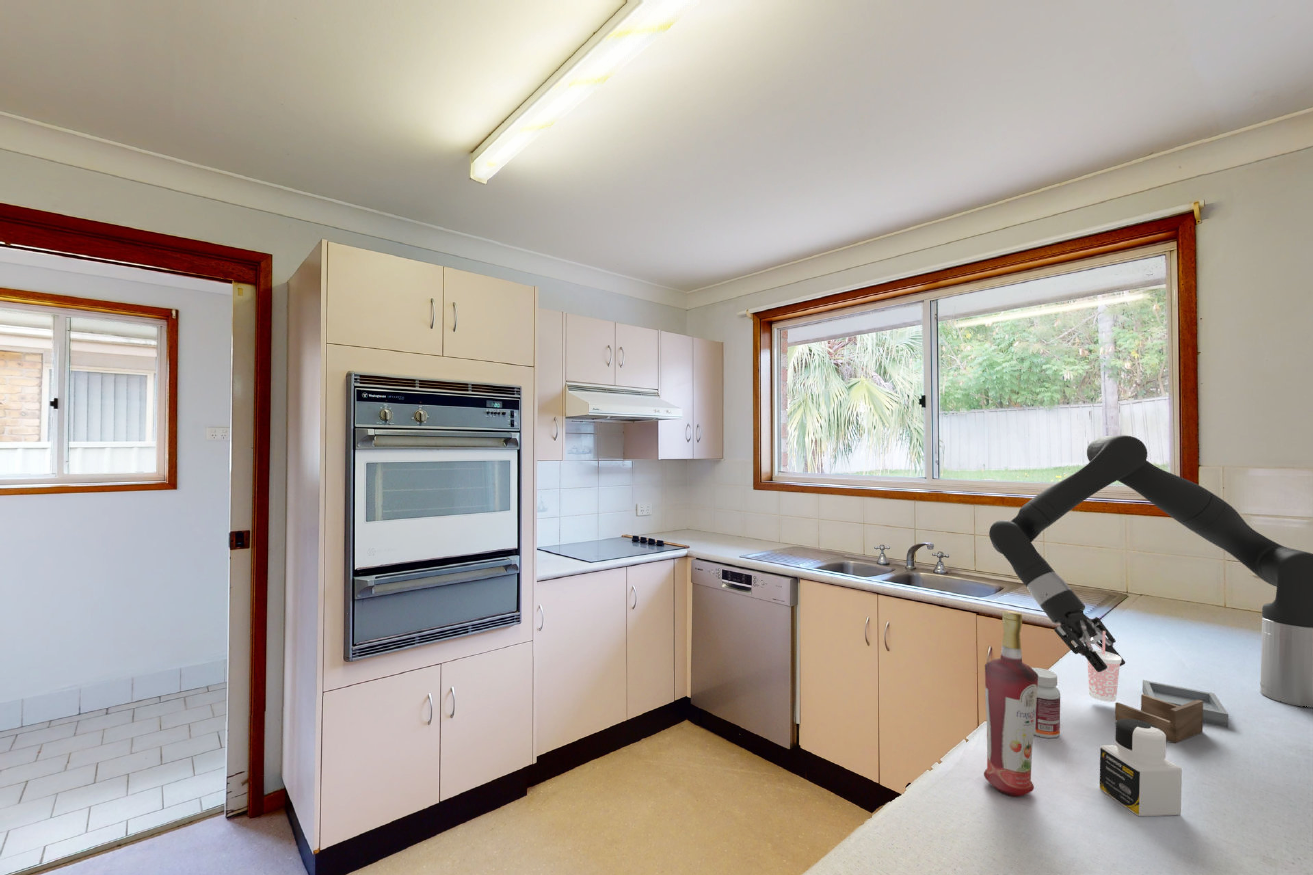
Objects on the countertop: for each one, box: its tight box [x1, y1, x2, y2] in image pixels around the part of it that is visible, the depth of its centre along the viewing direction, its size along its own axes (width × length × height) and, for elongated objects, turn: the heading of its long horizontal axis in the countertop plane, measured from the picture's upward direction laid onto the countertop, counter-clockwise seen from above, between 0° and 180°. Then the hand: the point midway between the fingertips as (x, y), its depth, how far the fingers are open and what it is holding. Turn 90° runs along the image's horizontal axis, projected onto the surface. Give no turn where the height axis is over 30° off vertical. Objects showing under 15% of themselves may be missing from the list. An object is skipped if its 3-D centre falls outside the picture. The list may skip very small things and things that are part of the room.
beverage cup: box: [1087, 631, 1123, 703], centre depth 126 cm, size 6×6×14 cm
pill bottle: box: [1031, 667, 1061, 739], centre depth 114 cm, size 6×6×11 cm
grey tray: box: [1141, 679, 1229, 728], centre depth 126 cm, size 12×12×2 cm
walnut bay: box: [1114, 693, 1204, 744], centre depth 117 cm, size 10×11×6 cm
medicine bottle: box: [1099, 719, 1183, 817], centre depth 92 cm, size 7×7×12 cm
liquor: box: [983, 610, 1038, 798], centre depth 94 cm, size 7×7×28 cm
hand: (1112, 667), depth 124 cm, fingers closed on beverage cup, 6 cm apart
